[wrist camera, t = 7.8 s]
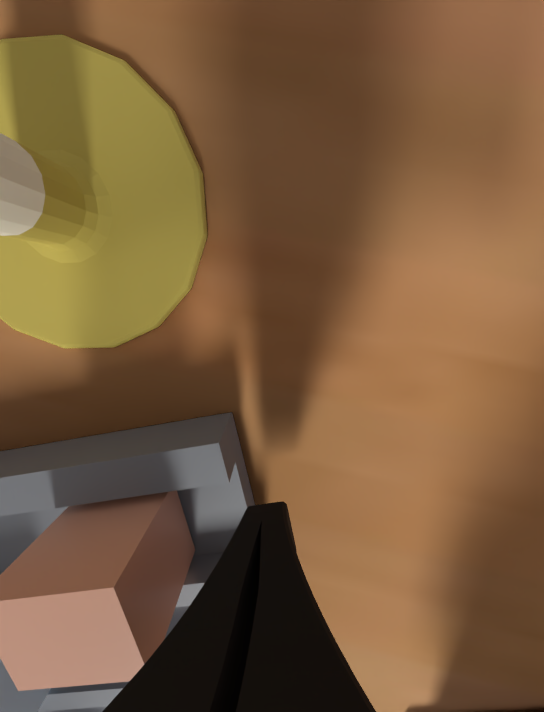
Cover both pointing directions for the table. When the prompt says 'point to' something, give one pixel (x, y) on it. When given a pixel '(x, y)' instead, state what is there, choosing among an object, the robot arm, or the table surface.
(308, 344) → the table surface
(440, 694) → the table surface
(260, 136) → the table surface
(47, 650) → the clay pink cube
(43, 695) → the pale blue tilted box
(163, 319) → the candle
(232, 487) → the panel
